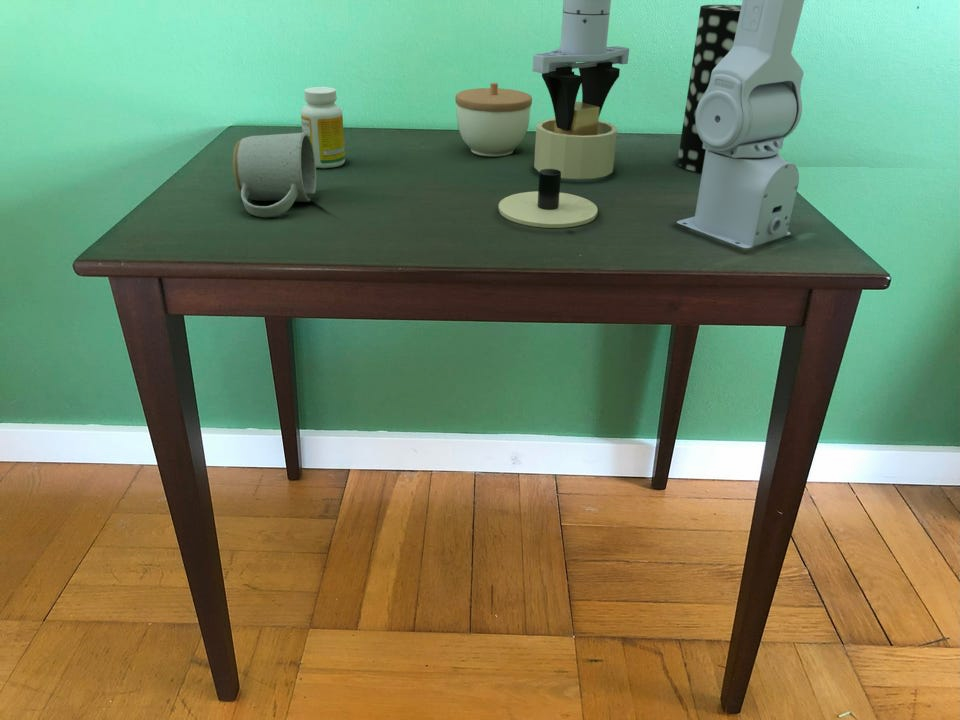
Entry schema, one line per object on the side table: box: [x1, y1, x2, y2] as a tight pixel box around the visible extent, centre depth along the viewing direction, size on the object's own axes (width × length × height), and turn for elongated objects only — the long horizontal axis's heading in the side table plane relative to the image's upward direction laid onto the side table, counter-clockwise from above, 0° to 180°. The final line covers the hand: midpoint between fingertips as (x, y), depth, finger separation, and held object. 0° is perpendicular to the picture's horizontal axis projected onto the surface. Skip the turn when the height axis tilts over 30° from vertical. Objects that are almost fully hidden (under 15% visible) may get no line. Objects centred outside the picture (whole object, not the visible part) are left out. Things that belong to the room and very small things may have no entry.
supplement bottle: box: [300, 86, 346, 169], centre depth 102 cm, size 5×5×10 cm
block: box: [554, 101, 600, 136], centre depth 100 cm, size 4×4×4 cm
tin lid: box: [497, 169, 599, 229], centre depth 86 cm, size 11×11×5 cm
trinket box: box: [454, 82, 533, 157], centre depth 109 cm, size 11×11×9 cm
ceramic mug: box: [232, 132, 317, 218], centre depth 87 cm, size 11×8×8 cm
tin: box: [533, 117, 618, 180], centre depth 102 cm, size 10×10×6 cm
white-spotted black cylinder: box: [676, 4, 742, 174], centre depth 102 cm, size 8×8×20 cm
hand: (576, 126), depth 100 cm, fingers closed on block, 4 cm apart
